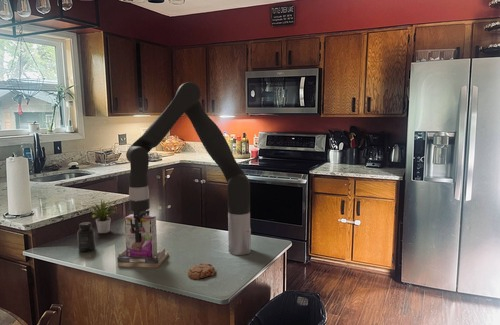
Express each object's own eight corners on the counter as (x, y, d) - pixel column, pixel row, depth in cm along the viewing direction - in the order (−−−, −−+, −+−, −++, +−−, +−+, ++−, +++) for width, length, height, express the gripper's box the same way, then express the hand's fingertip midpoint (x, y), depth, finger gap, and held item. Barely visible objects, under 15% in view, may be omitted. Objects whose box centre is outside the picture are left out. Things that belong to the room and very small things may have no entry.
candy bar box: (126, 257, 149) (123, 217, 147) (132, 253, 154) (130, 213, 152) (152, 259, 147) (150, 218, 145) (158, 255, 152) (156, 215, 150)
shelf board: (168, 254, 158) (168, 244, 158) (157, 267, 145) (157, 256, 145) (131, 253, 160) (130, 243, 159) (117, 266, 147) (116, 255, 146)
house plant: (102, 238, 179) (99, 204, 177) (81, 234, 185) (78, 202, 183) (123, 230, 192) (122, 198, 190) (103, 226, 198) (101, 196, 196)
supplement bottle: (99, 248, 166) (97, 222, 165) (86, 254, 160) (84, 226, 159) (87, 246, 169) (85, 220, 168) (74, 251, 163) (72, 224, 161)
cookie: (181, 277, 137) (181, 269, 137) (197, 266, 147) (197, 259, 146) (205, 282, 133) (205, 274, 133) (220, 271, 143) (220, 263, 142)
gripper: (137, 193, 155) (139, 233, 157) (122, 201, 141) (124, 245, 143) (155, 193, 154) (156, 234, 156) (141, 202, 140) (143, 246, 142)
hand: (141, 239), depth 150 cm, fingers closed on candy bar box, 5 cm apart
